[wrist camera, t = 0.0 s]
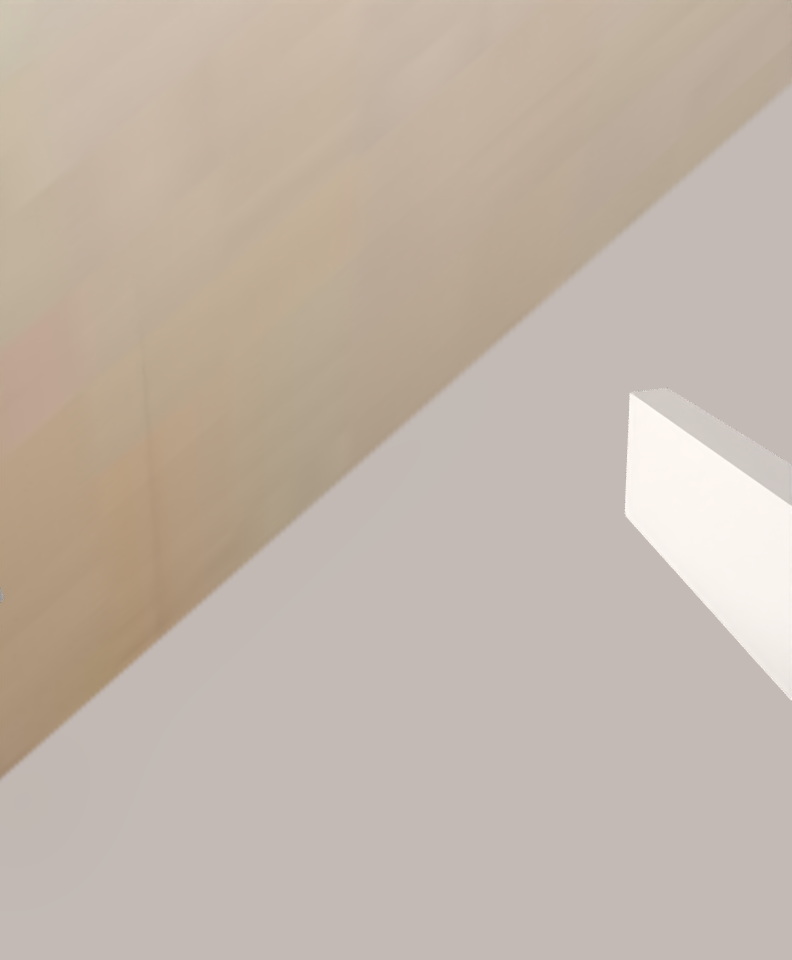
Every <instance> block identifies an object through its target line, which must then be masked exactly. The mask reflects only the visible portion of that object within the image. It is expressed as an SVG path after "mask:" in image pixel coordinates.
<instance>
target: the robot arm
mask: <svg viewBox="0 0 792 960" xmlns="http://www.w3.org/2000/svg"><path fill="white" fill-rule="evenodd" d="M625 516H626V517H627V518H628V519H629V520H630V521H631V522H632V524H633V525H634V526H635V527H636V528H637V529H638V530H639V531H640V532H641V534H643V536H644V537H645V538H646V539H647V540H648V541H649V542H650V544H651V545H652V546H653V547H654V548H655V549H656V550H657V551H658V553H659V554H660V555H661V556H662V557H663V558H664V559H665V560H666V561H667V563H668V564H669V565H670V566H671V567H672V568H673V569H674V570H675V572H676V573H677V574H678V575H679V576H680V577H681V578H682V579H683V580H684V582H685V583H686V584H687V585H688V586H689V587H690V588H691V589H692V590H693V592H694V593H695V594H696V595H697V596H698V597H699V598H700V599H701V600H702V602H703V603H704V604H705V605H706V606H707V607H708V608H709V609H710V610H711V612H712V613H713V614H714V615H715V616H716V617H717V618H718V619H719V620H720V622H721V623H722V624H723V625H724V626H725V627H726V628H727V629H728V631H729V632H730V633H731V634H732V635H733V636H734V637H735V638H736V640H737V641H738V642H739V643H740V644H741V645H742V646H743V647H744V648H745V650H746V651H747V652H748V653H749V654H750V655H751V656H752V657H753V658H754V660H755V661H756V662H757V663H758V664H759V665H760V666H761V667H762V668H763V670H764V671H765V672H766V673H767V674H768V675H769V676H770V677H771V679H772V680H773V681H774V682H775V683H776V684H777V685H778V686H779V687H780V689H782V691H783V692H784V693H785V694H786V695H787V696H788V697H789V699H790V700H791V701H792V464H790V463H788V462H786V461H785V460H783V459H782V458H780V457H779V456H777V455H775V454H773V453H772V452H770V451H769V450H767V449H766V448H764V447H762V446H761V445H759V444H757V443H756V442H754V441H753V440H751V439H749V438H748V437H746V436H744V435H742V434H741V433H740V432H738V431H736V430H735V429H733V428H731V427H730V426H728V425H727V424H725V423H723V422H722V421H720V420H718V419H717V418H715V417H713V416H712V415H710V414H709V413H707V412H705V411H704V410H702V409H701V408H699V407H697V406H695V405H694V404H692V403H691V402H689V401H688V400H686V399H684V398H683V397H681V396H679V395H678V394H676V393H674V392H673V391H671V390H670V389H668V388H662V389H655V390H646V391H638V392H630V404H629V429H628V453H627V476H626V501H625ZM3 599H4V596H3V593H2V590H1V588H0V603H1V601H2V600H3Z"/></svg>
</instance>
